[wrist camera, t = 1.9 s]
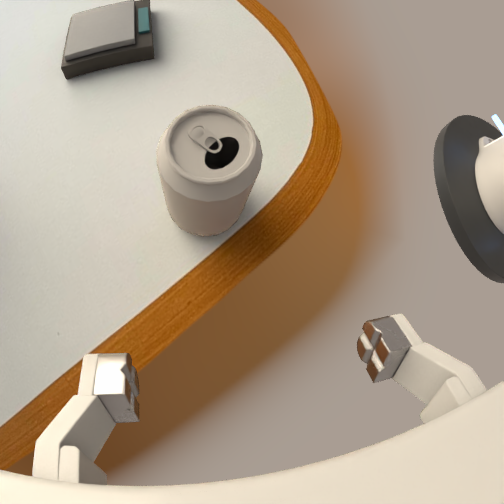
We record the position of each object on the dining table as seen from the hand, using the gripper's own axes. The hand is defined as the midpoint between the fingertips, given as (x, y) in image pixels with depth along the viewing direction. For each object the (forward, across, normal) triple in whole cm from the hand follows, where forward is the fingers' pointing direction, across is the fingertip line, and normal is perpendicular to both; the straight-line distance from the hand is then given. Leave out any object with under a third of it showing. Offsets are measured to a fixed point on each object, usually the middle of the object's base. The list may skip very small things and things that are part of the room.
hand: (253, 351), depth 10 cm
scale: (+41, +12, -13) cm, 45 cm away
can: (+23, 0, +5) cm, 24 cm away
